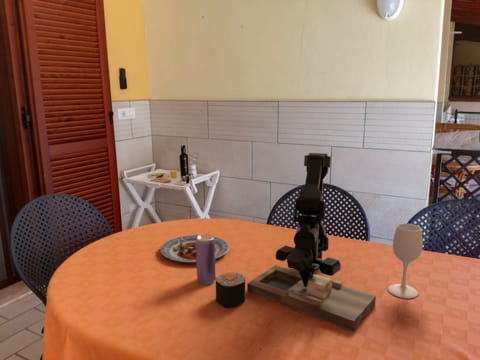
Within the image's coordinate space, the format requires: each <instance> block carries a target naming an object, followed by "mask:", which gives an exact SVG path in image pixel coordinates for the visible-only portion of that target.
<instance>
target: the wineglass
mask: <svg viewBox="0 0 480 360" xmlns="http://www.w3.org/2000/svg"><path fill="white" fill-rule="evenodd" d="M422 230H423V229H422V227H420V226H419V225H416V224H413V223H399V224H398V225H397V226H396V228H395V231H394V234H393V235H394V236H393V239H392V251H393V254H394V255H395V257H396V258H397V259H398V260H399V261H400V262H402V265H403V268H402V269H403V270H402V278H401V283H394V284H391V285H389V286H388V287H387V291H388V292H389V293H390V294H391V295H392V296H395V297H398V298H401V299H410V300H411V299H414V298H417V297H418V295H419V292H418V290H416V288H415V287H412V286H410V285H408V284H407V270H408V266H409V264H410V263H413V262H414V261H417V259H419V258H420V256H421V254H422V251H423V246H424V245H423V243H424V242H423V231H422Z"/></svg>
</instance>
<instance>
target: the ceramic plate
mask: <svg viewBox="0 0 480 360" xmlns="http://www.w3.org/2000/svg"><path fill="white" fill-rule="evenodd" d="M199 235H200V234H191V235H190V234H189V235H183V236H182V235H181V236H178V237H173V238H171V239H169V240H166V242H164V243H163V244H162V245H161V247H160V253H161V255H162V256H164V257H165V258H167V259H169V260H171V261H176V262H180V263H181V262H182V263H197V259H196V240H197V236H199ZM214 239H215V260H216V259H218V258H221V257H222V256H225V255H226V254H227V253H228V252H229V249H230V245H229V243H228V242H227V241H226V240H225V239H223V238H220V237H218V236H217V237H216V236H214Z"/></svg>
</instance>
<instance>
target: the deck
mask: <svg viewBox="0 0 480 360" xmlns="http://www.w3.org/2000/svg"><path fill="white" fill-rule="evenodd" d="M316 275H317V274H315V273H314V275H313V277H314V276H316ZM313 277H312V278H313ZM246 284H247V285H246V286H247V288H246V289H247V290H246V291H247V293H249V294H251V295H253V296H257V297H259V298H262V299H265V300H267V301H270V302H273V303H274V304H275V303H276V304H278V305H281V306H283V307H286V308H289V309H292V310H294V311H297V312H300V313H302V314H305V315H308V316H311V317H314V318H316V319H319V320H321V321H324V322H327V323H329V324H332V325H335V326H336V327H337V326H338V327H341V328H342V329H346V330H348V331H351V332H354V331H355V330H356V329H357V327H359V326H360V324H361V323H362V322H363V321H364V320H365V318H366V317H367V316H368V315H369V313H370V312H371V311H372V310H373V309H374V307H375V306H376V302H377V301H376V298H377V296H376V295H374V294H371V293H367V292H364V291H362V290H361V291H360V290H357V289H355V288H351V287H348V286H344V285H343V282H342V281H339V280H335V279H332V291H331V293H330V294H329V295H327V296H326V297H325V298H324V299H322V298H319V297H317V296H314V295H311V294H308V286H307V287H304V285H303V282H302V279H301V276H300V273H299V271H297V270H293V269H291V268H286V267H283V266H281V265H276V264H275V265H274V266H272V267H270V268H269V269H268V270H266V271H264V272H262V273H261V274H259V275H258V276H256V277H255V278H253V279H251V280H250V281H248V282H247V283H246Z"/></svg>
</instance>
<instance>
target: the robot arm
mask: <svg viewBox="0 0 480 360" xmlns="http://www.w3.org/2000/svg"><path fill="white" fill-rule="evenodd" d="M331 164H332V156H329V155H328V153H325V152H324V153H321V152H318V153H317V152H309V153H308V154H307V155H304V159H303V167H306V169H305V171H306V176H305V182H304V186H303V187H302V188H301V189H300V190H299V193H298V197H296V198H295V204H294V213H293V222H294V223H295V222H296V223H297V222H298V227H297V229H296V232H295V234H294V236H293V243H294V247H293V246H290V245H284V246H282V247H280V248H279V249H277V250H276V252H275V260H276V261H280V262H285V261H286V262H287V267H288V269H292V270H293V269H294V270H295V271H296V272H299V273H300V276H301V279H302V282H303V285H304V287H307V286H308V281H309V280H310V279H312V277H313V275H314V274H315V273H316V272H317V271H318V270H319V272H320V273H321V274H323V275H326V276H332V277H333V276H334V275H335V274H336V273H337V272H339V271H340V270H341V266H342V265H341V264H342V263H341V261H340V260H339V259H335V258H332V257H326V258H325V259H323V252H326V251H329V247H330V246H329V241H330V239H329V238H328V234H326V227H325V225H324V224H323V222H322V221H323V220H325V213H326V212H325V211H326V203H325V200H324V199H323V191H324V190H323V189H324V188H323V187H324V179H325V178H326V176H327V174H328V172H329V168H331Z"/></svg>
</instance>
